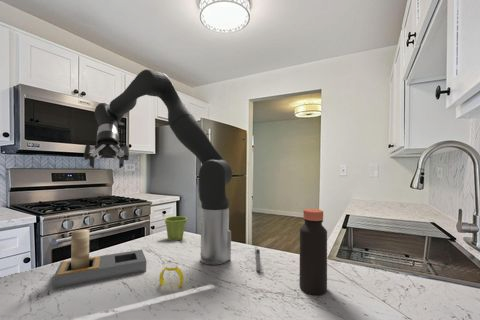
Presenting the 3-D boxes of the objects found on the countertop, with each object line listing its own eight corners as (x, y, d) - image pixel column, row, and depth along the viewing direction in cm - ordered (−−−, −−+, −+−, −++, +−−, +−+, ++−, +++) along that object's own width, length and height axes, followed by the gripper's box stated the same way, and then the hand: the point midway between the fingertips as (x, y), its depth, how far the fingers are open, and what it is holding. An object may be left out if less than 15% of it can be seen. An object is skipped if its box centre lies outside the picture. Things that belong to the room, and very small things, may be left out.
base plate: (141, 262, 75) (142, 248, 75) (146, 274, 66) (146, 259, 67) (60, 276, 65) (60, 261, 65) (52, 293, 56) (53, 276, 56)
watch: (183, 288, 60) (185, 265, 60) (179, 294, 57) (181, 270, 57) (162, 284, 61) (164, 261, 61) (156, 289, 58) (158, 266, 58)
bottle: (294, 284, 62) (294, 209, 62) (314, 280, 64) (314, 207, 65) (311, 298, 56) (311, 213, 56) (333, 292, 58) (333, 212, 59)
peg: (89, 271, 66) (89, 228, 66) (88, 277, 62) (88, 232, 62) (71, 274, 64) (72, 230, 64) (70, 281, 60) (70, 234, 60)
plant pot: (166, 235, 103) (166, 216, 104) (187, 235, 104) (188, 216, 105) (161, 242, 94) (161, 221, 94) (185, 242, 95) (185, 220, 95)
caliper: (260, 272, 69) (260, 251, 69) (256, 272, 69) (256, 251, 69) (257, 248, 90) (257, 232, 90) (254, 248, 90) (254, 232, 90)
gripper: (86, 128, 87) (82, 158, 77) (128, 131, 94) (129, 159, 84) (86, 143, 92) (83, 173, 81) (127, 145, 99) (128, 173, 88)
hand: (107, 166), depth 83 cm, fingers open, 8 cm apart
